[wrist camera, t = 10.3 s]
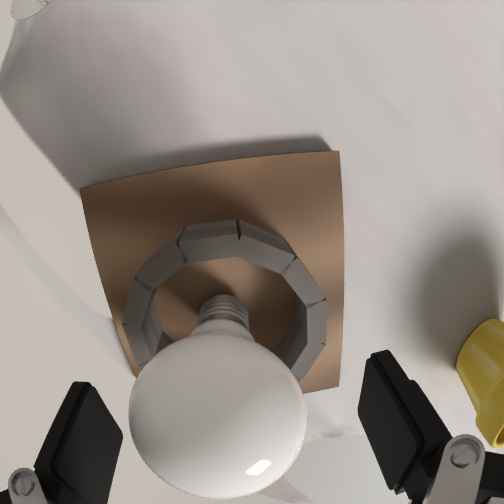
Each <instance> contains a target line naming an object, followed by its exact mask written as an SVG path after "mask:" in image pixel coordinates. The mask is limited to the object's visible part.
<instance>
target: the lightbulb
mask: <svg viewBox="0 0 504 504" xmlns="http://www.w3.org/2000/svg"><path fill="white" fill-rule="evenodd" d="M248 318H249V317H248V311H247V308H246V306H245V305H244V303H243V302H242V301H241V300H239V299H238V298H236V297H234V296H231V295H224V294H222V295H216V296H213V297H210V298H209V299H207V300H206V301H205V302H204V303H203V305H202V306H201V309H200V313H199V317H198V322H197V327H196V328H195V329H194V330H193V331H192V333H191V334H190V335H189V337H186V338H183V339H180V340H178V341H176V342H174V343H172V344H170V345H168V346H167V347H165V348H164V349H162V350H161V351H159V352H158V353H157V354H156V355H155V356H154V357H152V358H151V360H150V361H149V362H148V363H147V364H146V365H145V366H144V368H143V369H142V371H141V372H140V374H139V375H138V377H137V379H136V381H135V384H134V386H133V389H132V392H131V396H130V400H129V411H128V417H129V426H130V432H131V436H132V439H133V442H134V444H135V447H136V449H137V451H138V453H139V454H140V456H141V457H142V459H143V460H144V462H145V463H146V464H147V466H148V467H149V468H150V469H151V470H152V471H153V472H154V473H155V474H156V475H157V476H158V477H159V478H161V479H162V480H163V481H165V482H166V483H168V484H169V485H171V486H172V487H174V488H176V489H178V490H180V491H183V492H185V493H188V494H191V495H194V496H198V497H202V498H208V499H233V498H239V497H244V496H247V495H250V494H253V493H256V492H258V491H260V490H262V489H264V488H266V487H268V486H269V485H271V484H273V483H274V482H275V481H277V480H278V479H279V478H280V477H281V476H282V475H283V474H284V473H285V472H286V471H287V470H288V469H289V468H290V467H291V465H292V464H293V462H294V461H295V459H296V458H297V456H298V454H299V452H300V450H301V448H302V445H303V442H304V438H305V434H306V428H307V410H306V403H305V399H304V396H303V393H302V390H301V388H300V385H299V383H298V381H297V380H296V378H295V376H294V375H293V373H292V372H291V370H290V369H289V368H288V367H287V365H286V364H285V363H284V362H283V361H282V360H281V359H280V358H279V357H278V356H276V355H275V354H274V353H273V352H271V351H270V350H269V349H267V348H266V347H264V346H262V345H261V344H259V343H257V342H255V340H254V338H253V336H252V335H251V333H250V332H249V319H248Z"/></svg>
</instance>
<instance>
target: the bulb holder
mask: <svg viewBox="0 0 504 504" xmlns="http://www.w3.org/2000/svg"><path fill="white" fill-rule="evenodd" d="M80 193H81V199H82V204H83V209H84V214H85V218H86V223H87V228H88V232H89V237H90V241H91V244H92V249H93V253H94V257H95V261H96V264H97V268H98V271H99V275H100V279H101V282H102V285H103V288H104V292H105V295H106V298H107V302H108V304H109V308H110V310H111V314H112V317H113V319H114V322H115V325H116V328H117V331H118V334H119V336H120V339H121V342H122V344H123V347H124V349H125V352H126V354H127V357H128V359H129V362H130V364H131V367H132V369H133V372H134V374H135V376H136V379H137V377H138V375H139V374H140V372H141V371H142V369H143V368H144V366H145V365H146V364H147V363H148V362H149V361H150V360H151V358H152V357H154V356H155V355H156V354H157V353H158V352H159V351H161V350H162V349H164V348H165V347H167V346H168V345H170V344H172V343H174V342H176V341H178V340H180V339H183V338H186V337H189V335H190V334H191V333H192V331H193V330H194V329H195V328H196V327H197V322H198V317H199V313H200V309H201V306H202V305H203V303H204V302H205V301H206V300H207V299H209V298H210V297H213V296H216V295H222V294H224V295H231V296H234V297H236V298H238V299H239V300H241V301H242V302H243V303H244V305H245V306H246V308H247V311H248V317H249V318H248V319H249V332H250V333H251V335H252V336H253V338H254V340H255V342H257V343H259V344H261V345H262V346H264V347H266V348H267V349H269V350H270V351H271V352H273V353H274V354H275V355H276V356H278V357H279V358H280V359H281V360H282V361H283V362H284V363H285V364H286V365H287V367H288V368H289V369H290V370H291V372H292V373H293V375H294V376H295V378H296V380H297V381H298V383H299V385H300V388H301V390H302V393H303V394H305V393H310V392H315V391H320V390H325V389H329V388H334V387H338V386H339V378H340V366H341V351H342V334H343V309H344V224H343V199H342V181H341V167H340V154H339V151H320V152H304V153H291V154H279V155H268V156H259V157H249V158H241V159H233V160H225V161H217V162H210V163H203V164H197V165H190V166H184V167H178V168H172V169H166V170H161V171H155V172H150V173H145V174H140V175H135V176H130V177H125V178H121V179H116V180H111V181H107V182H103V183H98V184H94V185H90V186H86V187H83V188H80Z"/></svg>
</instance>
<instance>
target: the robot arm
mask: <svg viewBox="0 0 504 504" xmlns="http://www.w3.org/2000/svg"><path fill="white" fill-rule="evenodd" d="M358 416H359V418H360V421H361V423H362V426H363V428H364V430H365V433H366V435H367V437H368V440H369V442H370V444H371V447H372V449H373V451H374V454H375V456H376V459H377V461H378V464H379V466H380V469H381V471H382V474H383V476H384V479H385V481H386V484H387V486H388V488H389V489H390V490H393V489H394V491H395V493H396V495H397V494H400V493H402V492H405V491H406V493H407V496H408V498H409V499H410V501H409V503H408V504H504V454H498V453H492V452H487V451H485V448H484V445H483V443H482V442H481V441H480V440H479V439H478V438H476V437H475V436H472V435H469V434H462V435H458V436H456V437H454V438H453V437H452V436H451V434H450V433H449V431H448V429H447V428H446V426H445V425H444V423H443V421H442V420H441V418H440V417H439V415H438V414H437V412H436V411H435V409H434V407H433V406H432V404H431V403H430V401H429V400H428V398H427V397H426V395H425V394H424V392H423V391H422V389H421V388H420V386H419V385H418V384H417V383H416V381H414V380H409V378H408V377H407V375H406V374H405V372H404V371H403V369H402V368H401V366H400V365H399V363H398V362H397V361H396V359H395V358H394V356H393V355H392V353H391V352H390V351H389V350H384V351H380V352H376V353H372V354H371V357H370V358H369V359H367V360H366V365H365V371H364V378H363V383H362V389H361V394H360V400H359V405H358ZM122 440H123V434H122V431H121V429H120V428H119V426H118V425H117V423H116V422H115V420H114V418H113V417H112V415H111V414H110V412H109V410H108V409H107V407H106V405H105V404H104V402H103V400H102V399H101V397H100V395H99V394H98V392H97V390H96V388H95V387H93V386H92V385H91V384H90V383H89V382H77V381H76V382H73V383H72V385H71V387H70V389H69V391H68V393H67V395H66V397H65V399H64V401H63V403H62V405H61V407H60V409H59V411H58V413H57V415H56V417H55V419H54V421H53V423H52V425H51V428H50V430H49V432H48V434H47V436H46V439H45V441H44V443H43V446H42V448H41V450H40V452H39V455H38V457H37V459H36V462H35V464H34V468H35V471H34V472H33V471H32V470H31V469H29V468H20V469H17V470H16V471H14V472H13V473H12V474H11V476H10V478H9V481H8V489H7V490H4V491H2V492H0V504H107V502H108V497H109V492H110V489H111V484H112V480H113V476H114V472H115V468H116V463H117V460H118V456H119V452H120V447H121V444H122Z"/></svg>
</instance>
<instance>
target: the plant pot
mask: <svg viewBox="0 0 504 504" xmlns="http://www.w3.org/2000/svg"><path fill="white" fill-rule="evenodd" d="M456 370H457V373H458V375H459V377H460V379H461V381H462V383H463V385H464V387H465V389H466V391H467V393H468V395H469V397H470V399H471V401H472V404H473V406H474V408H475V410H476V412H477V416H476V425H477V427H478V429H479V430H480V432H481V433H482V435H483V436H484V438H485V439H486V441H487V442H488V443H489V444H490V446H491V447H492V448H500V447H502V446H504V322H502V321H500V320H497V319H488V320H486V321H485V322H483V323H482V324H480V325H479V326H478V327H477V328H476V329H475V330H474V331H473V332H472V333H471V334H470V336H469V337H468V338H467V340H466V341H465V343H464V345H463V346H462V348H461V350H460V352H459V355H458V358H457V362H456Z"/></svg>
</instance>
